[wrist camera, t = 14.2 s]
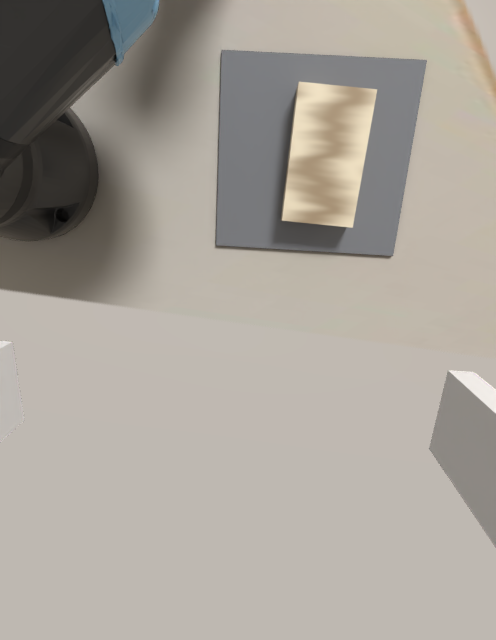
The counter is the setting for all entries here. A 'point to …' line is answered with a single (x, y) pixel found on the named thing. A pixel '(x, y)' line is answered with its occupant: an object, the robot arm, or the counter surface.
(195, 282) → the counter surface
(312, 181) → the birch block
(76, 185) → the robot arm
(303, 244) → the mat
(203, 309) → the counter surface
